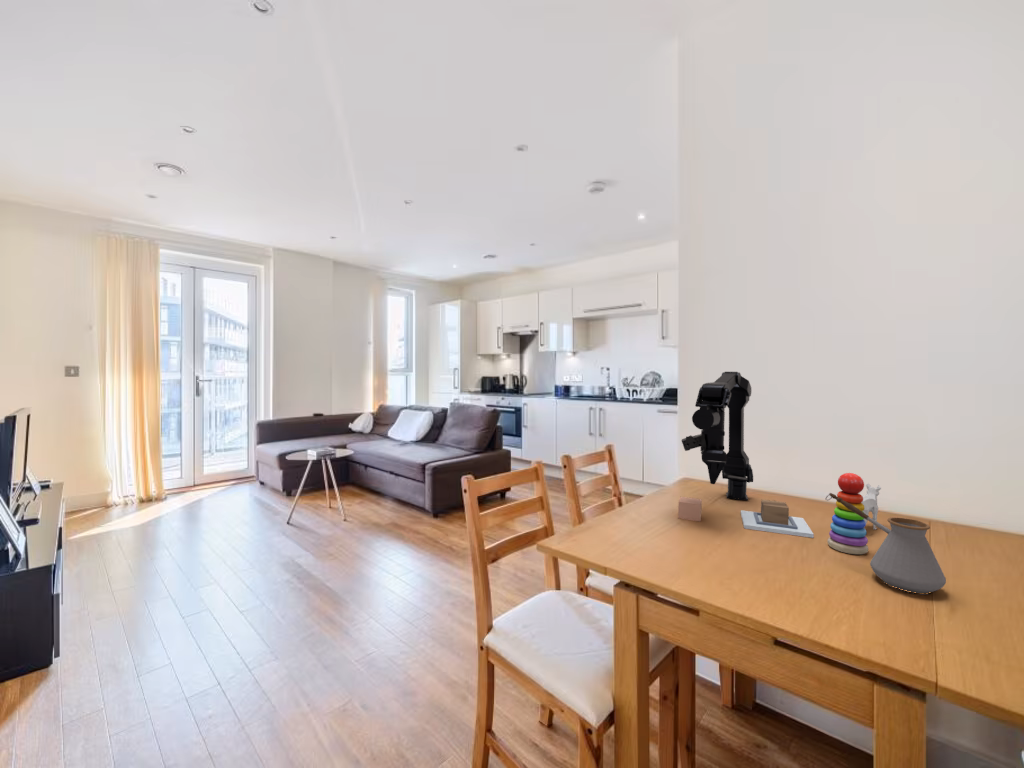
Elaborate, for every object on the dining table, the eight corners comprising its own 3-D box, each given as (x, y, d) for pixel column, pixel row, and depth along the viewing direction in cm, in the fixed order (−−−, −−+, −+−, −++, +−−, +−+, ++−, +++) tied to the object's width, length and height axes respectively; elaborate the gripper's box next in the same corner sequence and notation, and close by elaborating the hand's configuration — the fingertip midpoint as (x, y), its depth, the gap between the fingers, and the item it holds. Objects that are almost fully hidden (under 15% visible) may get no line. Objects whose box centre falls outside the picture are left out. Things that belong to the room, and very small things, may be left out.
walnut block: (760, 516, 128) (761, 499, 128) (784, 519, 125) (785, 502, 125) (763, 522, 122) (763, 505, 122) (788, 526, 120) (788, 508, 120)
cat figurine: (884, 526, 124) (885, 476, 123) (855, 541, 113) (857, 486, 112) (864, 521, 127) (866, 473, 127) (835, 535, 116) (837, 482, 116)
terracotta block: (679, 512, 134) (680, 496, 134) (701, 515, 132) (701, 499, 131) (678, 518, 129) (678, 501, 129) (700, 521, 126) (700, 504, 126)
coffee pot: (958, 593, 86) (961, 517, 86) (926, 604, 82) (929, 524, 81) (840, 551, 106) (842, 489, 105) (809, 559, 101) (811, 494, 101)
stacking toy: (820, 545, 109) (822, 470, 109) (839, 540, 112) (841, 468, 112) (856, 558, 102) (858, 478, 101) (875, 552, 105) (878, 474, 105)
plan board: (740, 513, 134) (740, 508, 133) (802, 521, 127) (803, 515, 127) (744, 528, 121) (744, 522, 121) (813, 537, 114) (813, 531, 114)
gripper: (684, 422, 139) (682, 471, 139) (683, 428, 122) (681, 484, 122) (722, 424, 135) (721, 475, 135) (727, 431, 118) (726, 489, 118)
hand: (711, 480), depth 128 cm, fingers open, 9 cm apart
